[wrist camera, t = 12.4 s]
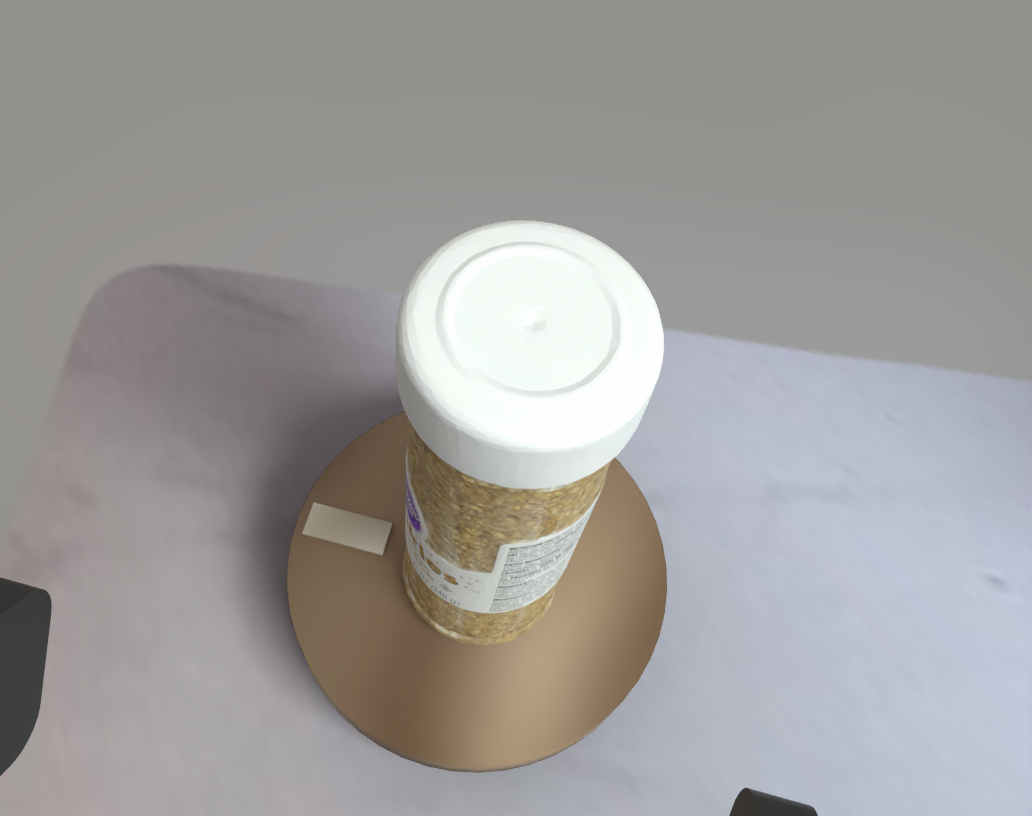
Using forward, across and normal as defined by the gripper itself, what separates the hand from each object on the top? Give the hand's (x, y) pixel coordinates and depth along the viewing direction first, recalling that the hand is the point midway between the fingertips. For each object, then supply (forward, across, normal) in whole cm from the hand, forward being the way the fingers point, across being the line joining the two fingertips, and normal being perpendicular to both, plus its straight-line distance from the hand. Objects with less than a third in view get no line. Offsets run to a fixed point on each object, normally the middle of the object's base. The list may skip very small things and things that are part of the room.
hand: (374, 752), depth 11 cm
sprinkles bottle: (+16, 0, +6) cm, 17 cm away
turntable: (+17, 0, +6) cm, 18 cm away
